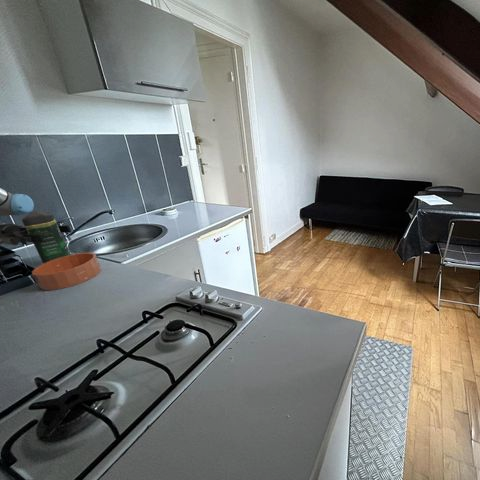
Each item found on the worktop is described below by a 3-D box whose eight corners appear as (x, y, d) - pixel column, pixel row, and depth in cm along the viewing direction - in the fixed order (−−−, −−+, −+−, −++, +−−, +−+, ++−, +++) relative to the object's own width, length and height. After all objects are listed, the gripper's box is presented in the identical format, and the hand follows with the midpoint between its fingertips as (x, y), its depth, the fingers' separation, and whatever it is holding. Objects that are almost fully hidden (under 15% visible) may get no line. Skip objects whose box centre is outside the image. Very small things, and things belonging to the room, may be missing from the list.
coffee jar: (71, 259, 98) (49, 212, 91) (42, 266, 94) (16, 217, 86) (72, 252, 105) (51, 207, 98) (45, 258, 100) (21, 212, 93)
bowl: (31, 296, 80) (22, 280, 77) (49, 274, 93) (42, 260, 90) (96, 279, 87) (90, 265, 85) (104, 261, 100) (99, 248, 97)
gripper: (42, 232, 109) (88, 232, 106) (-27, 255, 90) (27, 255, 86) (33, 215, 106) (80, 214, 103) (-40, 234, 87) (15, 234, 83)
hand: (56, 233), depth 95 cm, fingers closed on coffee jar, 8 cm apart
